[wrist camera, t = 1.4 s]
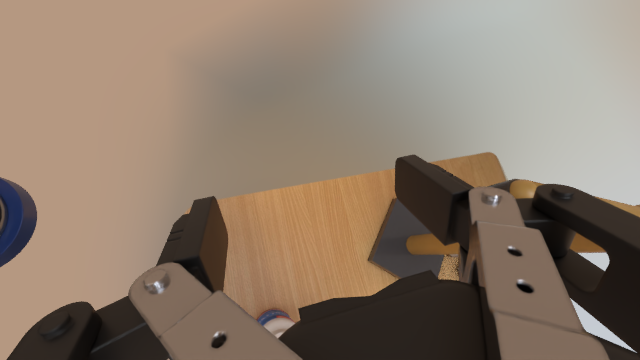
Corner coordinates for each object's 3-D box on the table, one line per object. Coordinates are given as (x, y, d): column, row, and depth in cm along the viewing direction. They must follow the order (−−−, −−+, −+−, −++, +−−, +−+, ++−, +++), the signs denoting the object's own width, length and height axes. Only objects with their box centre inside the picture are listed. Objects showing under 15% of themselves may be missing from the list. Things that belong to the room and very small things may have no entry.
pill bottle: (289, 304, 38) (306, 318, 29) (294, 345, 36) (313, 375, 27) (250, 312, 36) (254, 331, 27) (253, 356, 35) (259, 391, 26)
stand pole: (424, 241, 45) (656, 221, 20) (418, 258, 44) (657, 260, 19) (409, 232, 45) (626, 200, 20) (403, 249, 44) (626, 238, 19)
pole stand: (445, 232, 49) (451, 231, 47) (426, 295, 44) (432, 296, 43) (392, 199, 47) (397, 197, 46) (367, 260, 43) (372, 260, 41)
